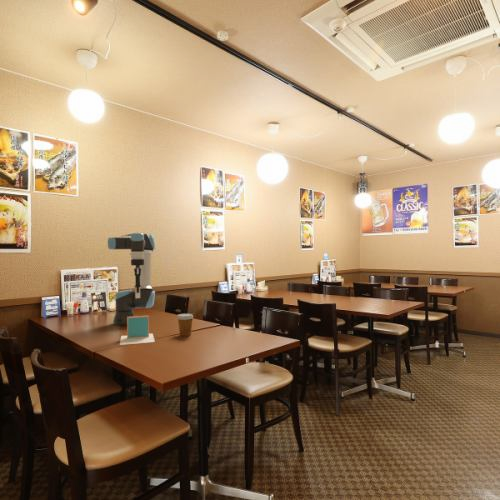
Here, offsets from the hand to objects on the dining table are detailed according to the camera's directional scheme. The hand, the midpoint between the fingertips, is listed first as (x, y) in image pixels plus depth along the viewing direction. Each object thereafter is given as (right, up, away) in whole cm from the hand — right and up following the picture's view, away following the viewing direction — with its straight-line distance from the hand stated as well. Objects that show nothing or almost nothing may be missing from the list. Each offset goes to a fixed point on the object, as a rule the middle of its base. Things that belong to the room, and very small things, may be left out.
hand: (137, 297), depth 211 cm
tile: (+3, -22, -8) cm, 23 cm away
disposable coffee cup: (+29, -22, -1) cm, 36 cm away
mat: (+4, -22, -12) cm, 25 cm away
